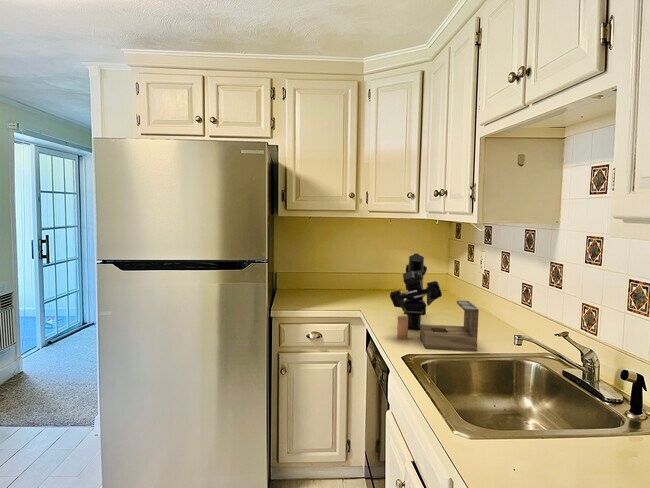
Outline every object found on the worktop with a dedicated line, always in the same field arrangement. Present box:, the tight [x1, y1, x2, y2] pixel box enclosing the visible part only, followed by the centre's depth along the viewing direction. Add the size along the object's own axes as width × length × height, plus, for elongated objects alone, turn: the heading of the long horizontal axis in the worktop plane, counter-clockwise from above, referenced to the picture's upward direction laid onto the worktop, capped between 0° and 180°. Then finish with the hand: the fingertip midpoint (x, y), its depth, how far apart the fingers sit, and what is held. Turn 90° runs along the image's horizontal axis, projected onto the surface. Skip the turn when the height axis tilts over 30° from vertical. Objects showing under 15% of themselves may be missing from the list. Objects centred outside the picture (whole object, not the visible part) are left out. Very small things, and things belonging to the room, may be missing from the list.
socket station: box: [419, 300, 479, 352], centre depth 153 cm, size 14×18×15 cm
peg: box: [396, 315, 409, 340], centre depth 160 cm, size 4×4×8 cm
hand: (415, 307), depth 149 cm, fingers open, 9 cm apart
